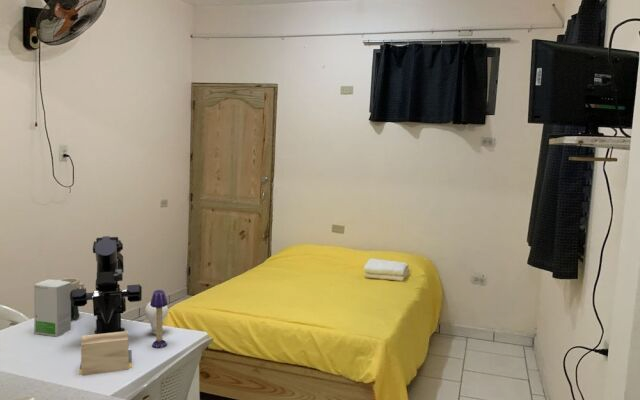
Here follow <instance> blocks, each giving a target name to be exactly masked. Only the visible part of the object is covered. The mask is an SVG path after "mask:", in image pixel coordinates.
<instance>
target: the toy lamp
mask: <svg viewBox="0 0 640 400" xmlns="http://www.w3.org/2000/svg"><path fill="white" fill-rule="evenodd" d="M150 302H151V303H150V305H151V306H152V307H156V310H157V311H156V315H157V316H156V320H157V322H156V325H157V327H156V330H157V332H156V335H155V339H156V340H154V341H153V343H152V344H151V347H152V348H153V349H156V350H157V349H164V348H166V347H167V346H168V343H167V341H166V340H164V339H163V325H164V323H163V322H164V321H162V318H163V317H162V313H163V312H162V307H165V306H166V305H167V306H168V299H167V296H166V293H165V291H164V290H162V289H157V290H154V291H153V293H152V296H151V299H150ZM162 324H163V325H162Z"/></svg>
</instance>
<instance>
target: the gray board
mask: <svg viewBox="0 0 640 400" xmlns="http://www.w3.org/2000/svg"><path fill="white" fill-rule="evenodd" d="M132 351H133V350H132V349H128V352H129V369H132V368H133V358H132V357H133V356H132V355H133V353H132ZM78 375H82V365H81V364H80V366H79V370H78Z"/></svg>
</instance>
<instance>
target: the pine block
mask: <svg viewBox="0 0 640 400" xmlns="http://www.w3.org/2000/svg"><path fill="white" fill-rule="evenodd" d="M128 350H129V331H128V330H126V331H125V330H124V331H121V332H114V333H104V334H97V333H95V334H88V335H82V337H81V343H80V356H81V357H80V360H81V361H80V365H82V374H81V376H87V375H93V374H95V375H96V374H101V373H108V372H117V371H124V370H129V369H130V368H129V352H128Z"/></svg>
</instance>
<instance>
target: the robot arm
mask: <svg viewBox="0 0 640 400" xmlns="http://www.w3.org/2000/svg"><path fill="white" fill-rule="evenodd" d="M123 248H124V244H123V243H122V241H121V239H120V240H119V237H118V236H109V235H107V236H101V237H96V238H95V241H93V246H92V253H93V254H95V261H96V279H95V291H92V292H87V289H86V288H85V287H84V289H81V288H80V289H73V290H72V291H71V292H70V300H71V305H72V306H73V307H78V308H79V307H85V306H86V305H87V304H88V301H90V300H92V306H93V307H92V308H93V317H95V316H96V319H95V330H94V331H93V333H95V334H104V333H114V332H123V331H125V328H124V327H122V314H124V313H125V312H127V307H126V303H127V302H126V301H128V302H130V303H135V302H141V301H142V300H143V299H142V297H143V296H142V295H143V294H142V293H143V292H142V285H141V284H128V285H126V289H124V290H121V288H120V286H121V285H120V284H119V282H122V281H123V273H124V272H125V270H124V255H123V254H122V253H121V252H122V251H123V250H124V249H123ZM126 298H127V300H126Z"/></svg>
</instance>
